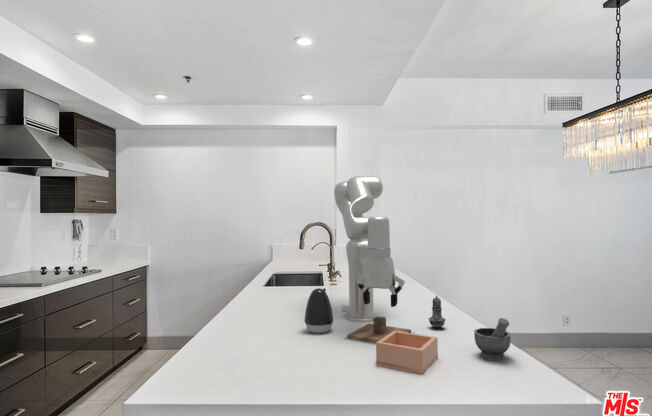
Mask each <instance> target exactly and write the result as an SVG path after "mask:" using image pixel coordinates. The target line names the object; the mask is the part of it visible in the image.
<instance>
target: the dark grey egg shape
mask: <svg viewBox="0 0 652 416" xmlns="http://www.w3.org/2000/svg"><path fill="white" fill-rule="evenodd" d="M326 291H327V289H326V288H323V289H322V288H315V289H313V290H312V291H311V293H310V295H309V297H308V300H307V304H306V306H305V310H304V311H305V313H304V323H305V327H306V329H307V330H308V331H309V332H310V333H312V334H325V333H328V332H329V331H330V330H331V329H332V326H333V323H334V314H333V308H332V304H331V302H330V298H329V295H328V294H327V292H326Z"/></svg>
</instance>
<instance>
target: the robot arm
mask: <svg viewBox="0 0 652 416" xmlns="http://www.w3.org/2000/svg"><path fill="white" fill-rule="evenodd" d="M383 189H384V186H383V183H382V180H381V178H379V177H378V176H373V175H371V176H370V175H369V176H368V175H366V176H365V175H364V176H363V175H362V176H359V175H358V176H353V177H350V178H349V179H348V180H345V181H340V182H338V183H337V184H336V185H335V186H334V191H333V192H334V200H335V201H334V202H335V203H336V206H337V209H338V211H340V214H341V217H342V220H343V225H344V229H345V233H346V236H347V238H348V239H349V241H348V242H347V243H346V247H345V252H346V258H347V267H348V303H349V304H348V305H342V306H341V312H346V314H345V319H346V321H350V322H353V323H370V322H373V318H375V317H377V316H378V315H377V314H376V313H375V312H374V289H385V290H387V289H388V290H389V291H390V293H391V294H390V307H392V308H394V307H397V304H398V301H399V300H398V294H399V293H400V291H401V290H402V289H403V287H404V285H405V284H406V283H405V280H404V279H402V278H400V277H399V276H398V275H396V271H395V264H394V261H393V257H391V254H392V253H391V252H392V251H391V236H390V233H391V232H390V231H391V230H390V219H389V218H388V217H386V216H363V215H364V214H365V213H367V212H369V211H371V209H373V207H374V204H375V199H378V198H379V197H380V196H382V194H383ZM396 282H397V283H398V286H397V287H396Z"/></svg>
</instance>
